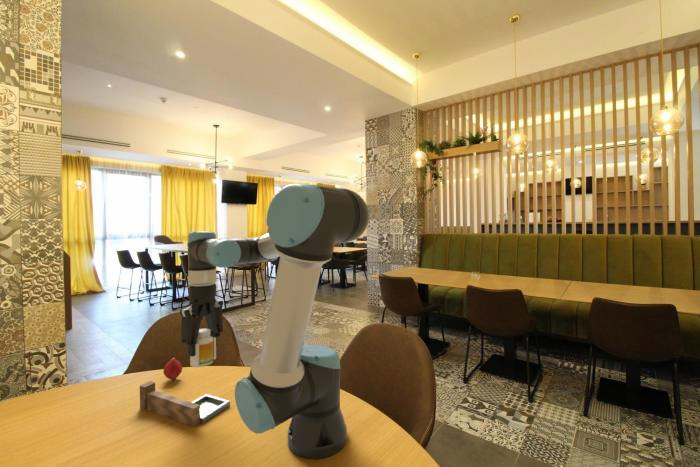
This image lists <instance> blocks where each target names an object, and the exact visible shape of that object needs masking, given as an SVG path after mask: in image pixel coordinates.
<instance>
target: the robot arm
mask: <svg viewBox="0 0 700 467" xmlns="http://www.w3.org/2000/svg"><path fill="white" fill-rule="evenodd" d="M369 210H370V209H369V208H368V204H367V202H366V201H365V200H364V199H363V197H362V196H361V195H360V194H358V193H357V192H355V191H353V190H350V189H348V188H342V187H341V188H339V187H333V186H326V185H325V186H324V185H320V184H319V185H318V184H314V183H290V184H287V185H285V186H283V187H282V188H281V189H279V190H278V191H277V192H276V193H275V194H274V196H273V197H272V199H271V201H270V203H269V206H268V208H267V213H266V219H265V220H266V226H267V227H268V228H267V233H265V234H263V235H259V236H256V237H241V238H240V237H237V238H234V237H232V238H217V237H216V236H217V234H216V233H215V232H214V231H206V230H205V231H190V232H189V233H188V234H187V243H186V246H187V266H188V267H187V268H188V269H187V272H188V273H187V274H188V275H187V278H188V280H187V281H188V284H189V285H188V288H187V291H188V298H189V304H188V306H187V307H186V308H181V309H180V310H179V313H180V314H179V315H180V318H181V332H180V333H181V336H180V337H181V338H180V339H181V340H180V343H181V344H182V345H186V346H187V347H188V348H187V349H188V350H187V351H188V353H187V354H188V357H189V359H190V360H189V361H190V362H189V363H190V367H193V368H199V367H200V366H199V344H197V338H198V333H199V329H201V328H200V327H201V324H202V323H201V322H202V321H203V319H204V317H205V322H206V326H207V329H210V331H211V333H210V336H212V337H213V360H216V359H217V346H218V338H219V337H221V333H223V331H224V322H223V306H224V301H223V300H220V299H218V300H217V299H216V296H217V293H218V292H217V284H216V282H217V268H231V267H234V266H239V265H246V264H247V265H248V264H254V263H257V264H259V263H270V262H273V261H276V260H278V258H279V260H278V266H277V271H276V275H275V276H276V277H275V281H274V286H273V291H272V296H271V302H270V306H269V312H268V317H267V321H266V326H265V329H264V330H265V332H264V336H263V341H262V346H261V350H260V351H261V353H260V354H258V355H256V357H255V358H253V360H252V362H251V365H250V370H249V375H248V376H247V377H243V378H241V379H240V380H238V381H237V382H236V384H235V386H234V387H235V388H234V399H235V405H236V409H237V411H238V413H239V415H240V416H239V417H240V418H241V420H242V422H243V423H244V425H245V427H247V429H249V431H250V432H252V433H255V434H264V433H265V432H267V431H270V430H274V429H275V428H276V427H278V426H280V425H282V424H284V423H285V422H287V421H289V420H290V419H291V420H290V424H289V426H288V430H287V446H288V448H289V450H291V452H292V453H294V454H295V455H297V456H299V457H302V458H305V459H314V460H315V459H324V458H327V457H331V456H333V455H335V454H337V453H339V452H340V451H341V450H342V449H343V448H344V447H345V445H346V443H347V439H348V428H347V424H346V422H345V418H344V415H343V412H342V409H341V367H342V366H341V363H340V362H341V360H340V354H339V353H338V351H336V350H335V349H333V348H331V347H328V346H324V345H314V344H313V345H312V344H311V345H305V340H306V336H307V332H308V327H309V325H310V324H309V323H310V321H311V320H310V319H311V316H312V315H311V314H312V311H313V307H314V302H315V297H316V294H317V289H318V286H319V280H320V276H321V272H322V268H323V265H324V264H326V263H329V262H330V261H331V260H332V259H333V258H332V257H333V252H334V250H335V246H336V245H337V244H342V243H343V244H345V243H349V242H353V241H355V240H357V239H358V238H360V237H362V235H363V234H364V233H365V231H366V230H367V228H368V225H369V221H370V213H369V212H370V211H369Z"/></svg>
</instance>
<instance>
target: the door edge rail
mask: <svg viewBox="0 0 700 467" xmlns="http://www.w3.org/2000/svg"><path fill="white" fill-rule="evenodd" d="M192 402H193V401H188V400H186V399H182V398H179V397H176V396H172V395H170V394H166V393H164V392H160V391H157V390H156V382H154V381H151V380H149V381H147V382H145V383H143V384H140V385H139V409H140V410H141V411H142V410H143V411H150V412H152V413H155V414H158V415H160V416H162V417H166V418H169V419H171V420H175V421H177V422H180V423H182V424H186V425H188V426H190V427H193V428H195V427H196V426H198V425H200V424H201V423H200V405H198V404H195V403H192Z"/></svg>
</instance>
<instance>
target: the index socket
mask: <svg viewBox="0 0 700 467" xmlns="http://www.w3.org/2000/svg"><path fill="white" fill-rule="evenodd" d="M191 402H192V403H195V404H198V405H200V423H199V424H203V425H204V424H205V423H206V422H207V421H209V420H211V419H212V418H214V417H215V416H217V415H218V414H221V412H223V411H224V410H226V409H227V408H229V407H230V406H231V401H230V400H228V399H225V398H221V397H218V396H215V395H212V394H208V393H205V394H204V395H201V396H200V397H198V398H196V399H195V400H193V401H191Z"/></svg>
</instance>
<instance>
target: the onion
mask: <svg viewBox="0 0 700 467" xmlns="http://www.w3.org/2000/svg"><path fill="white" fill-rule="evenodd" d="M182 372H183V365H182V364H181V362H180V361H179V360H177V359H176V358H175V357H173V358H171V359H170V360H169V361H168V362H167V363H166V364H165V366H164V367H163V375H164V376H165V378H166V379H168V380H171V381H175V380H176V379H177V378H179V376H180V375H181V374H182Z"/></svg>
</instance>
